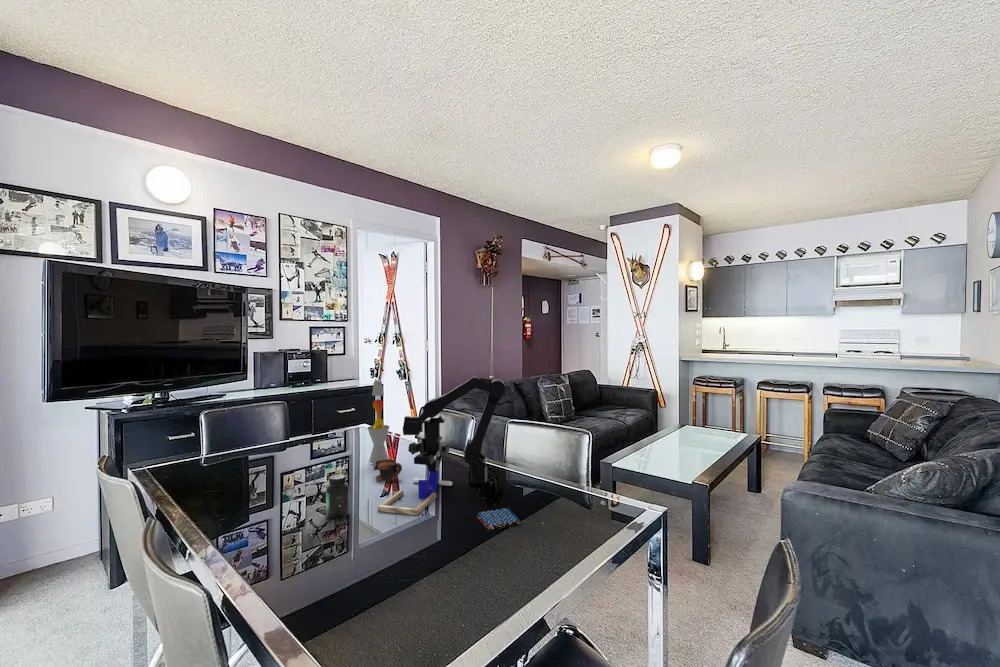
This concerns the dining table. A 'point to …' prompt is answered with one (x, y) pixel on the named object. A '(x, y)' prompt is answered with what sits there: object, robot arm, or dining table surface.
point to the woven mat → (497, 518)
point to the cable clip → (429, 484)
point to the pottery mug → (387, 469)
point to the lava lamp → (378, 427)
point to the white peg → (446, 483)
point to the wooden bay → (402, 510)
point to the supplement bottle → (337, 497)
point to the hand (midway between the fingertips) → (432, 477)
